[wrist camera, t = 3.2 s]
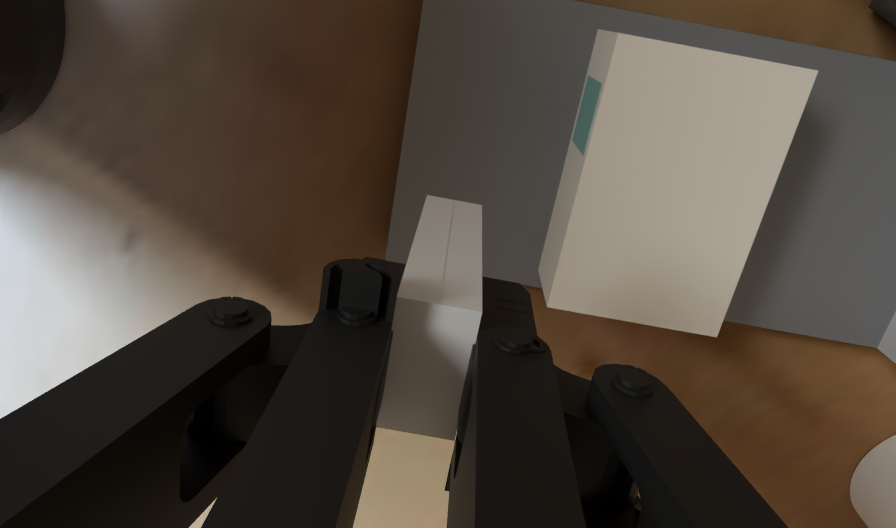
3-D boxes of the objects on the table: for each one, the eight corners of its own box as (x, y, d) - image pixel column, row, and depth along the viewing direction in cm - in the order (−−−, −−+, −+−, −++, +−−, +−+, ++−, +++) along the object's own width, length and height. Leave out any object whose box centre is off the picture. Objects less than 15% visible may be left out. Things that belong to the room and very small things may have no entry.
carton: (537, 269, 33) (546, 307, 29) (597, 29, 29) (617, 32, 25) (687, 296, 33) (717, 337, 29) (770, 61, 29) (819, 70, 25)
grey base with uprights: (389, 247, 35) (349, 356, 24) (430, -26, 30) (403, -47, 19) (910, 340, 36) (1104, 488, 25) (1039, 90, 31) (1357, 136, 20)
